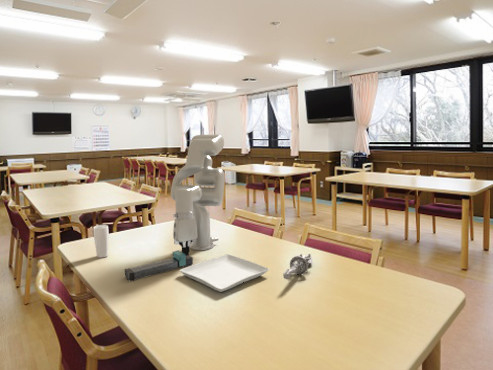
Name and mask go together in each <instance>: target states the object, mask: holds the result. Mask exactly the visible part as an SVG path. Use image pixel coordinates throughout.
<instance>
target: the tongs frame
mask: <svg viewBox="0 0 493 370" xmlns="http://www.w3.org/2000/svg"><path fill="white" fill-rule="evenodd" d="M175 259H176V258H175ZM193 261H194V260H193V257H192V256H191V255H190V254H189V255H187V256H186V265H184V266H179V260H177V259H176V260H172V261H168V262H164V263H160V264H156V265H152V266H148V267H144V268H140V269H135V270H130V271H127V278H126V280H128V281H129V282H132V281H133V282H134V281H135V280H138V279H143V278H146V277H151V276H154V275H159V274H162V273H166V272H170V271H172V270H173V271H174V270H178V269H179V268H181V269H183V268H186V267H189V266H192V264H193V265H194V262H193Z"/></svg>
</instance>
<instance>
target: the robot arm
mask: <svg viewBox="0 0 493 370" xmlns="http://www.w3.org/2000/svg"><path fill="white" fill-rule="evenodd" d="M224 145H225V140H224V137H223V136H222V135H221V134H196V135H194V136H192V138H191V141H190V143H189V146H188V150H187V156H186V161H185V165H183V166H182V167H181V168H180V169H179V170H178V171H177V172H176V174H175V175H173V176H174V177H173V179H172V183H171V187H170V197H171V199H172V200H173V201H175V212H174V214H173V218H175V219H174V222H173V233H172V235H173V237H172V238H173V244H174V245H178V246H180V247H181V252H182V253H184V254H185V255H186V256H187V255H189V256H190V249H191V250H193V251H206V250H207V251H208V250H211V249H212V248H214V242H216V241H217V242H218V241H219V237H217V236H216V237H214V236H211V215H210V214H211V213H210V211H209V210H208V209H209V208H207V207H219V206H221V205H222V204H223V201H224V194H225V193H224V191H225V183H226V182H225V181H226V180H225V179H226V178H225V177H226V176H225V171H224V170H223V169H221V168H219V167H218V168H216V167H213V159H212V157H211V156H213V157H214V156H217V155H218V154H219V153H220V152H221V151H222V150H223V149H224ZM191 176H194V180H193V181H194V184H195V185H193V184H182V183H183V181H185V180H186V179H187V178H189V177H191Z"/></svg>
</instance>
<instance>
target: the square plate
mask: <svg viewBox="0 0 493 370" xmlns="http://www.w3.org/2000/svg"><path fill="white" fill-rule="evenodd" d="M268 271H270V268H269V267H266V266H263V265H261V264H258V263H256V262H253V261H250V260H247V259H245V258H241V257H239V256H235V255H233V254H230V253H229V254H228V253H225V254H222V255H219V256H216V257H212V258H210V259H207V260H204V261H201V262H198V263H194V264H193V265H189V266H185V267H182V268H181V269H179V272H180V273H181V274H182V275H184V276H186V277H187V278H189V279H192V280H194V281H197V282H198V283H201V284H203V285H205V286H207V287H209V288H210V289H212V290H215V291H216V292H220V293H221V292H225V291H227V290H228V291H229V290H231V289H232V288H234V287H237V286H238V285H241V284H243V282H244V283H245V282H248V281H251V280H253V279H256V278H258V277H260V276H263V275H264V274H266V273H267V272H268Z"/></svg>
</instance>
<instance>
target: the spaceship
mask: <svg viewBox="0 0 493 370" xmlns="http://www.w3.org/2000/svg"><path fill="white" fill-rule="evenodd" d="M309 264H313V257H312V254H311V253H308V254H307V255H305V254H304V255H303V254H299V255H296V256H292V258H291V259H290V261H289V267H290V268H288V269H286V270H285V271H284V272H283V278H284V279H286V280H288V279H289V278H290V277H292V274H294V275H297V274H303V275H305V274H306V273H307V272H308V269H309ZM297 276H298V275H297Z"/></svg>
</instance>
